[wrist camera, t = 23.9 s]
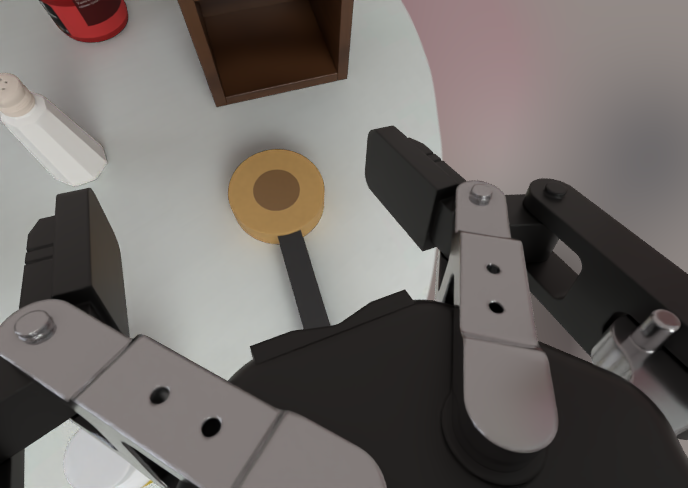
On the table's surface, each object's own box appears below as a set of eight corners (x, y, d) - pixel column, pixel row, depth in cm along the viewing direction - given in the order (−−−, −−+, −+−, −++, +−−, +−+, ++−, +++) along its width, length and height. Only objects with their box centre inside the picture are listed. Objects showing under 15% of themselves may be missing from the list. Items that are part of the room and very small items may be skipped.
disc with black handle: (224, 175, 41) (218, 161, 39) (309, 154, 42) (309, 139, 40) (275, 376, 35) (272, 375, 32) (374, 344, 36) (377, 340, 34)
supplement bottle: (191, 394, 34) (142, 394, 25) (200, 464, 32) (152, 493, 23) (124, 412, 33) (48, 420, 24) (129, 485, 31) (50, 524, 22)
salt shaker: (58, 140, 41) (-29, 56, 31) (112, 140, 42) (44, 58, 31) (46, 187, 40) (-51, 114, 29) (103, 187, 40) (27, 115, 30)
